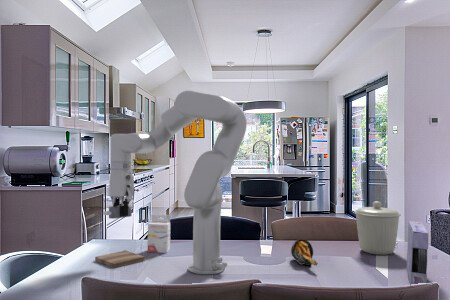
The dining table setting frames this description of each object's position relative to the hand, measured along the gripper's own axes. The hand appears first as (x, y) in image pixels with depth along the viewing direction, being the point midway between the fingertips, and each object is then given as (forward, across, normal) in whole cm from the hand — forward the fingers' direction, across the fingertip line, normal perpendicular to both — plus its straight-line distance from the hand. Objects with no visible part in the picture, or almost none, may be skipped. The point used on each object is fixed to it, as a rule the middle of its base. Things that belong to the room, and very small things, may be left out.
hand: (120, 214), depth 146 cm
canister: (+18, -65, -81) cm, 105 cm away
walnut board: (+17, 0, 0) cm, 17 cm away
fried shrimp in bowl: (+18, -53, -44) cm, 71 cm away
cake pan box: (+18, -88, -54) cm, 105 cm away
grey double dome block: (+1, 0, 0) cm, 1 cm away
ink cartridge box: (+17, +1, -19) cm, 26 cm away
